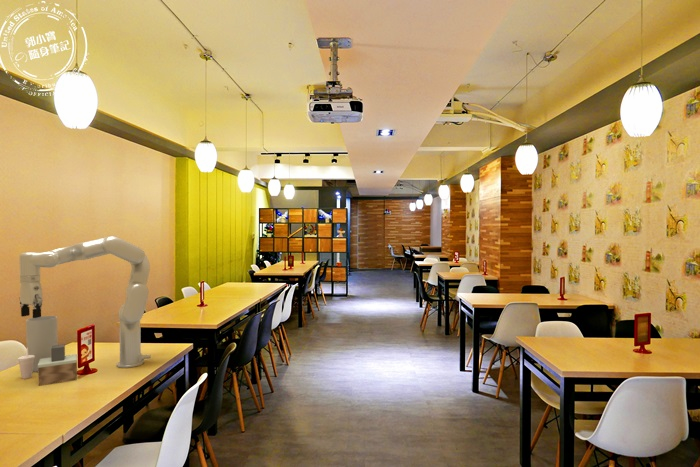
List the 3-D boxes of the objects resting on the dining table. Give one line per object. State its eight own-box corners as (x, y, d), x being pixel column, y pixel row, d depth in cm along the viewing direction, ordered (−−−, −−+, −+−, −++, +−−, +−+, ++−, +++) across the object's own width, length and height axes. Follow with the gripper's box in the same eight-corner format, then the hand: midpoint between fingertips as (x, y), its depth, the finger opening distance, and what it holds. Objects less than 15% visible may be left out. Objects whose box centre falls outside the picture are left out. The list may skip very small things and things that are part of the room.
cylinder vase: (55, 370, 212) (54, 319, 212) (24, 374, 206) (23, 321, 206) (59, 363, 223) (59, 315, 223) (30, 366, 217) (29, 317, 217)
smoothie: (25, 380, 197) (25, 349, 197) (14, 379, 198) (14, 349, 198) (38, 375, 203) (38, 346, 203) (27, 375, 204) (27, 345, 204)
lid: (77, 358, 206) (77, 341, 206) (76, 364, 196) (76, 346, 196) (40, 363, 199) (40, 345, 199) (37, 370, 189) (37, 351, 189)
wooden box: (76, 373, 206) (76, 356, 206) (76, 380, 196) (76, 362, 196) (41, 378, 199) (40, 361, 199) (38, 385, 189) (38, 367, 189)
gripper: (49, 279, 196) (50, 316, 196) (29, 277, 204) (30, 313, 204) (31, 280, 189) (32, 319, 189) (10, 279, 197) (11, 316, 197)
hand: (31, 316), depth 197 cm, fingers open, 9 cm apart
